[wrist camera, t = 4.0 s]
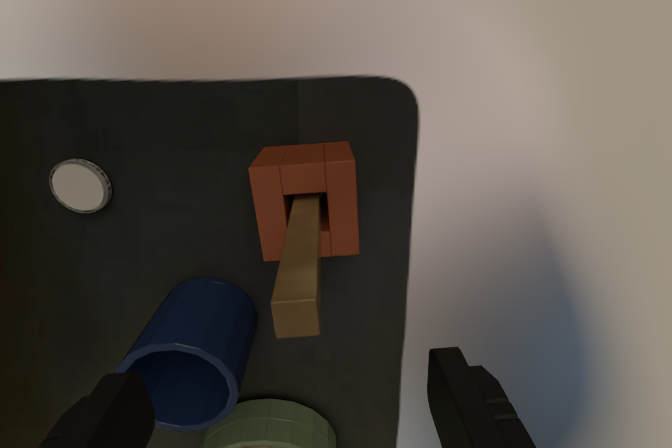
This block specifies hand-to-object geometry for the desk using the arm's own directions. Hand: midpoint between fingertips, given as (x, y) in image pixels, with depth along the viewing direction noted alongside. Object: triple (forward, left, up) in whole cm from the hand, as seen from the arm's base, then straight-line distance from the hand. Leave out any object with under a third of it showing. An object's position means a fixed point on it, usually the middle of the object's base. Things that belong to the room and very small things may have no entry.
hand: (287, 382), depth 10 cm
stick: (0, 0, -19) cm, 19 cm away
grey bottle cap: (+17, -1, -19) cm, 25 cm away
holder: (0, 0, -19) cm, 19 cm away
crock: (+10, +12, -19) cm, 24 cm away
